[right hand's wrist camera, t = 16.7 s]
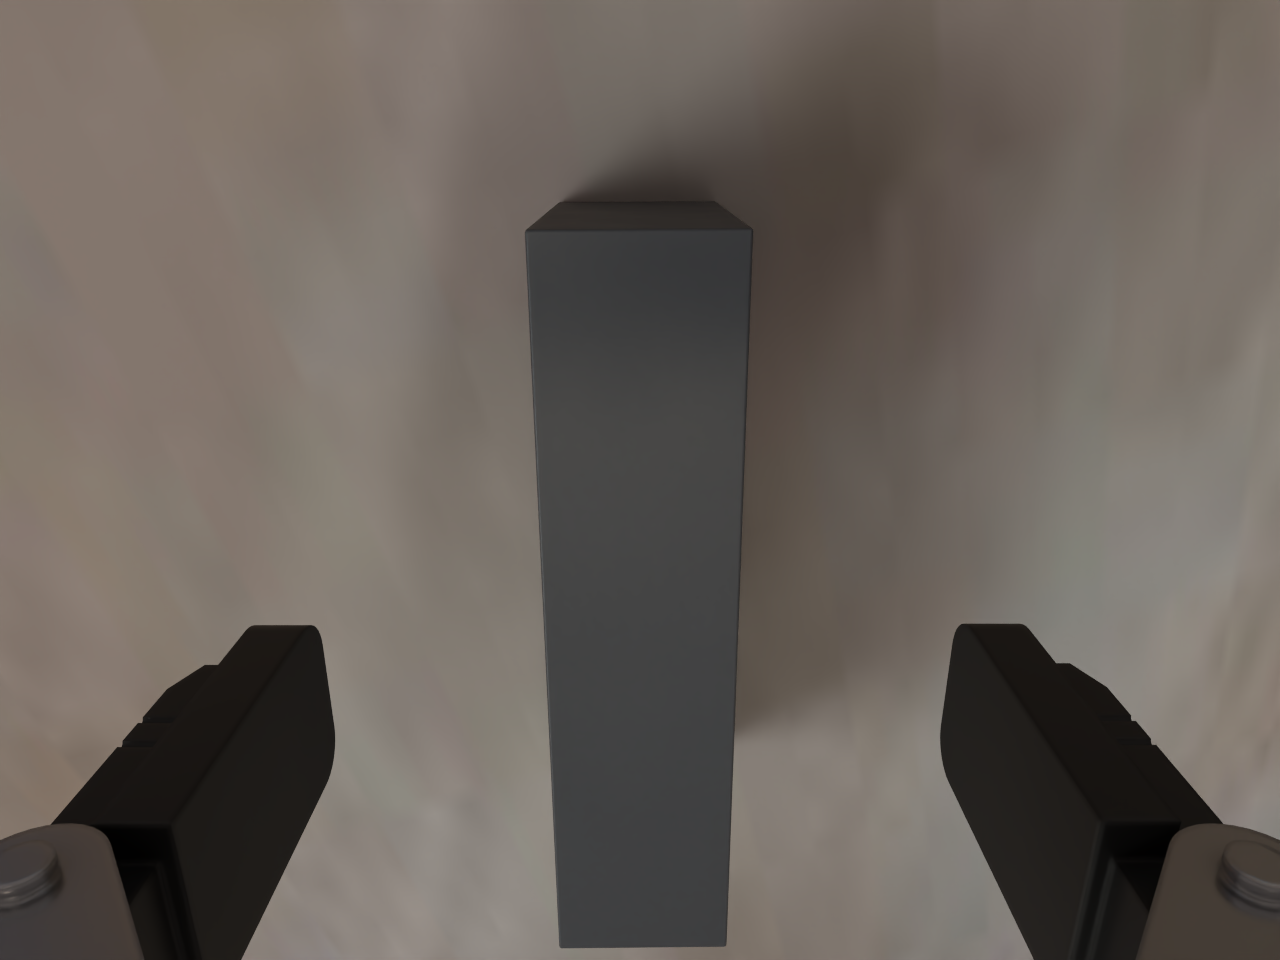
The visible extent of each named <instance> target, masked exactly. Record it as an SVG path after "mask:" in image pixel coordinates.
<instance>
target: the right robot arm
mask: <svg viewBox="0 0 1280 960" xmlns="http://www.w3.org/2000/svg"><path fill="white" fill-rule="evenodd" d="M940 744H941V755H942V761H943V766H944V770H945V773H946V777H947V779H948V781H949V784H950V786H951V788H952V790H953V792H954V794H955V796H956V798H957V800H958V802H959V804H960V807H961V809H962V811H963V813H964V815H965V817H966V819H967V821H968V823H969V825H970V827H971V829H972V832H973V834H974V836H975V838H976V840H977V842H978V844H979V846H980V848H981V850H982V852H983V854H984V857H985V859H986V861H987V863H988V865H989V867H990V869H991V871H992V873H993V875H994V877H995V879H996V881H997V884H998V886H999V888H1000V890H1001V892H1002V894H1003V896H1004V898H1005V900H1006V902H1007V904H1008V906H1009V909H1010V911H1011V913H1012V915H1013V917H1014V919H1015V921H1016V923H1017V925H1018V927H1019V929H1020V931H1021V934H1022V936H1023V938H1024V940H1025V942H1026V944H1027V946H1028V948H1029V950H1030V952H1031V954H1032V956H1033V959H1034V960H1280V840H1278V839H1276V838H1273V837H1271V836H1268V835H1266V834H1263V833H1260V832H1257V831H1254V830H1251V829H1247V828H1243V827H1238V826H1234V825H1226V824H1223V823H1222V822H1221V821H1220V819H1219V818H1218V817H1217V816H1216V815H1215V814H1214V812H1213V811H1212V810H1211V809H1210V808H1209V806H1208V805H1207V804H1206V803H1205V802H1204V801H1203V799H1202V798H1201V797H1200V796H1199V795H1198V794H1197V792H1196V791H1195V790H1194V789H1193V788H1192V787H1191V785H1190V784H1189V783H1188V782H1187V781H1186V779H1185V778H1184V777H1183V776H1182V775H1181V774H1180V772H1179V771H1178V770H1177V769H1176V768H1175V767H1174V765H1173V764H1172V763H1171V762H1170V761H1169V760H1168V758H1167V757H1166V756H1165V755H1164V754H1163V752H1162V751H1161V750H1160V749H1159V748H1158V747H1157V745H1152V744H1151V738H1150V737H1149V736H1148V735H1147V734H1146V733H1145V731H1144V730H1143V729H1142V728H1141V727H1140V725H1139V724H1138V723H1137V722H1136V721H1131V715H1130V714H1129V713H1128V711H1127V710H1126V709H1125V708H1124V707H1123V706H1122V704H1121V703H1120V702H1119V701H1118V700H1117V698H1116V697H1115V696H1114V695H1113V694H1112V693H1111V691H1110V690H1109V689H1108V688H1107V687H1106V686H1104V685H1103V684H1101V683H1099V682H1098V681H1096V680H1095V679H1093V678H1092V677H1090V676H1089V675H1087V674H1085V673H1084V672H1082V671H1081V670H1079V669H1078V668H1076V667H1075V666H1073V665H1071V664H1070V663H1055V661H1054V660H1053V659H1052V658H1051V656H1050V655H1049V654H1048V653H1047V651H1046V650H1045V649H1044V648H1043V646H1042V645H1041V644H1040V642H1039V641H1038V640H1037V639H1036V637H1035V636H1034V635H1033V634H1032V632H1031V631H1030V630H1029V629H1028V628H1027V627H1026V626H1025V625H1023V624H961V625H960V626H959V627H958V628H957V630H956V632H955V635H954V639H953V644H952V651H951V658H950V665H949V673H948V680H947V687H946V694H945V701H944V708H943V715H942V723H941V733H940ZM334 751H335V729H334V721H333V714H332V707H331V700H330V693H329V686H328V679H327V672H326V665H325V658H324V651H323V644H322V639H321V636H320V633H319V631H318V630H317V628H316V627H315V626H312V625H254V626H251V627H249V628H248V629H247V630H246V631H245V632H244V634H243V635H242V636H241V637H240V639H239V640H238V641H237V642H236V644H235V645H234V646H233V647H232V648H231V650H230V651H229V652H228V653H227V655H226V656H225V657H224V658H223V660H222V661H221V662H220V663H219V665H204V666H203V667H201V668H200V669H198V670H196V671H195V672H193V673H192V674H190V675H189V676H187V677H185V678H184V679H182V680H181V681H179V682H178V683H176V684H175V685H173V686H171V687H170V688H168V689H167V690H166V691H165V692H164V693H163V695H162V696H161V697H160V698H159V699H158V700H157V702H156V703H155V704H154V705H153V706H152V707H151V709H150V710H149V711H148V712H147V713H146V714H145V716H144V717H143V722H142V723H138V724H137V725H136V726H135V727H134V728H133V730H132V731H131V732H130V733H129V734H128V735H127V736H126V738H125V739H124V740H123V745H122V747H117V748H116V749H115V750H114V752H113V753H112V754H111V755H110V756H109V757H108V759H107V760H106V761H105V762H104V763H103V764H102V766H101V767H100V768H99V769H98V770H97V771H96V773H95V774H94V775H93V776H92V777H91V778H90V780H89V781H88V782H87V783H86V784H85V785H84V787H83V788H82V789H81V790H80V791H79V792H78V793H77V795H76V796H75V797H74V798H73V799H72V800H71V802H70V803H69V804H68V805H67V806H66V807H65V809H64V810H63V811H62V812H61V813H60V814H59V816H58V817H57V818H56V819H55V820H54V821H53V823H52V824H51V825H46V826H42V827H37V828H33V829H29V830H26V831H23V832H20V833H17V834H14V835H12V836H9V837H7V838H4V839H2V840H0V960H241V959H242V957H243V955H244V953H245V951H246V949H247V947H248V944H249V942H250V940H251V938H252V936H253V934H254V932H255V930H256V928H257V926H258V924H259V922H260V920H261V918H262V916H263V914H264V912H265V910H266V907H267V905H268V903H269V901H270V899H271V897H272V895H273V893H274V891H275V889H276V887H277V885H278V883H279V881H280V879H281V877H282V875H283V872H284V870H285V868H286V866H287V864H288V862H289V860H290V858H291V856H292V854H293V852H294V850H295V848H296V846H297V844H298V842H299V840H300V838H301V835H302V833H303V831H304V829H305V827H306V825H307V823H308V821H309V819H310V817H311V815H312V813H313V811H314V809H315V807H316V805H317V803H318V800H319V798H320V796H321V794H322V792H323V790H324V788H325V786H326V784H327V782H328V779H329V776H330V773H331V769H332V765H333V759H334Z"/></svg>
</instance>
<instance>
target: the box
mask: <svg viewBox="0 0 1280 960" xmlns="http://www.w3.org/2000/svg"><path fill="white" fill-rule="evenodd" d="M525 242H526V263H527V283H528V304H529V325H530V346H531V366H532V387H533V408H534V429H535V449H536V470H537V491H538V511H539V532H540V553H541V574H542V594H543V615H544V636H545V657H546V677H547V698H548V719H549V740H550V760H551V781H552V802H553V822H554V843H555V864H556V885H557V905H558V926H559V946H560V948H629V947H724V946H726V941H727V914H728V888H729V861H730V834H731V807H732V781H733V754H734V727H735V701H736V674H737V647H738V620H739V594H740V567H741V540H742V513H743V487H744V460H745V433H746V407H747V380H748V353H749V326H750V300H751V273H752V246H753V230H752V228H750V227H749V226H748V225H746V224H745V223H744V222H742V221H741V220H739V219H738V218H737V217H735V216H734V215H733V214H731V213H730V212H728V211H727V210H726V209H724V208H723V207H722V206H720V205H719V204H718V203H716V202H714V201H711V202H560V203H558V204H557V205H556V206H554V207H553V208H552V209H551V210H550V211H548V212H547V213H546V214H545V215H544V216H542V217H541V218H540V219H539V220H538V221H536V222H535V223H534V224H533V225H532V226H530V227H529V228H528V229H527V230H526V231H525Z"/></svg>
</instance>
